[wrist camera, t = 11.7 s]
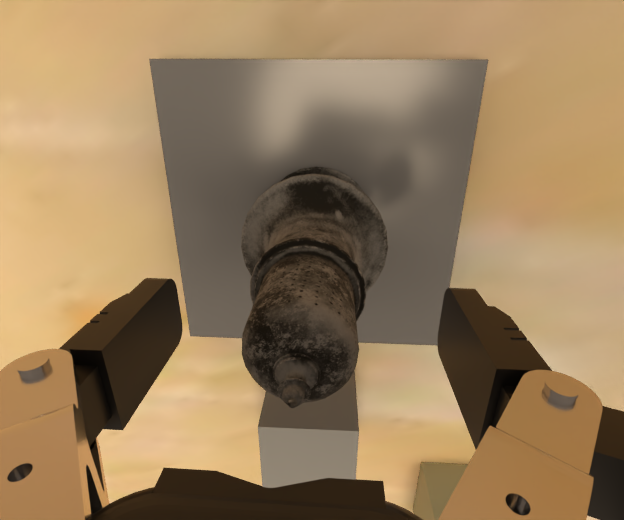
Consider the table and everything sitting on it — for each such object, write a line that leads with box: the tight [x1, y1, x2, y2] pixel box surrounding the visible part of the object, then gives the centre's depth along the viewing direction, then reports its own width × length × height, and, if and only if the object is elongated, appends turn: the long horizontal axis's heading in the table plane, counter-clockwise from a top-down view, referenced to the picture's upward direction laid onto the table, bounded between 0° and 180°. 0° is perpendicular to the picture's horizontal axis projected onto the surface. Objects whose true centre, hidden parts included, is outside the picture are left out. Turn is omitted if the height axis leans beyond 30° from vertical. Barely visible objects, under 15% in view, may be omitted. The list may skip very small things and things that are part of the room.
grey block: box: [258, 371, 359, 488], centre depth 22 cm, size 5×5×5 cm
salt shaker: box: [241, 166, 388, 408], centre depth 13 cm, size 6×6×12 cm
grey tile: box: [149, 59, 488, 345], centre depth 19 cm, size 14×14×1 cm
